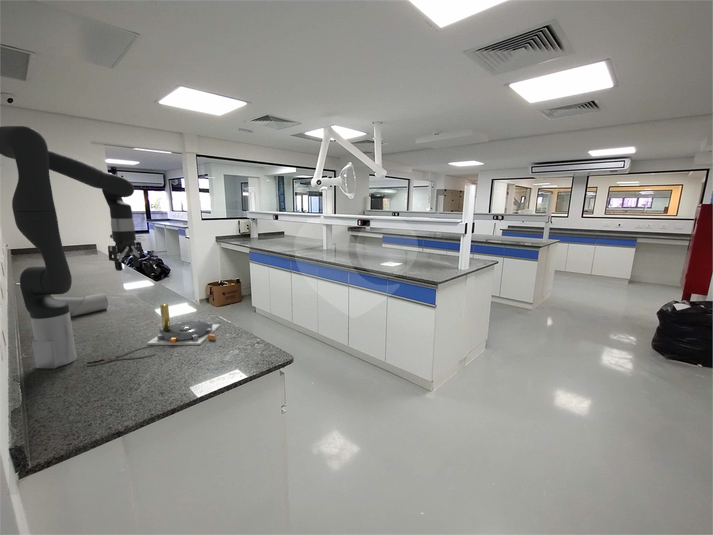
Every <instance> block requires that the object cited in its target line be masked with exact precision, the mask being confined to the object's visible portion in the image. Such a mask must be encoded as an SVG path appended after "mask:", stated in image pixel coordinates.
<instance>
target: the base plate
mask: <svg viewBox="0 0 713 535" xmlns="http://www.w3.org/2000/svg"><path fill="white" fill-rule="evenodd" d="M220 326H221V325H220V324H217V323H216V324H215V323H212V327H210V328H212V333H207V334H205V335H203V336H201V337H198V339H197V340H192V339H191V340H185V341H177V342H176V343H170V341H167V340H164V339H161V340H158V339H157V336H154V338H152V339H151V340H149V341H148V342H147V346H161V345H162V346H200V345H202V344H203V343H204V342H205V341H206V340H209V341H215V340H217V335H216V334H213V333H215V331H216V330H218V329H219V328H220Z"/></svg>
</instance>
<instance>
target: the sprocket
mask: <svg viewBox="0 0 713 535" xmlns="http://www.w3.org/2000/svg"><path fill="white" fill-rule="evenodd" d="M159 307H160V318H161V328H159V330H158V331H159V333H160V334H157V335H156V337H157V339H158V340H161V339H164V340H167V341H170V343H176V342H177V341H185V340H191V339H192V340H197V339H198V337H201V336H203V335H205V334H207V333H212V328H210V327H212V324H213V322H211V321H209V322H206V321H201V320H200V319H199V320H198V319H195V320H194V321H184V322H180V321H178V322H175V323H174V324H172V325H171V322H170V312H169V304H168V303H161V304H160V305H159ZM212 334H213V333H212Z"/></svg>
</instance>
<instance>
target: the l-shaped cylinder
mask: <svg viewBox="0 0 713 535" xmlns="http://www.w3.org/2000/svg"><path fill="white" fill-rule="evenodd" d="M53 298H55V299H57V300H59V301H62V302H65V303H67V304H68V306H69V311H70V318H72V317H77V316H82V315H85V314H91V313H94V312H99V311H103V310H104V311H105V310H107V309H108V308H109V299H108V297H107V296H106V294H105V293H104V292H103V293H101V292H100V293H96V294H90V295H86V296H85V297H55V296H54V297H53Z"/></svg>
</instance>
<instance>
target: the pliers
mask: <svg viewBox="0 0 713 535" xmlns="http://www.w3.org/2000/svg"><path fill="white" fill-rule="evenodd" d="M154 346H155V345H147V346H143V347H138V348H135V349H133V350H130V351H128V352H127V351H126V352H124V353H122V354H118V355H112V356H108V357H104V358H99V359H95V360H89V361H87V363H86V364H87V365H86V368H89V367H95V366H100V365H105V364H108V363H112V362H116V361H117V362H118V361H125V360H126V361H127V360H128V361H129V360H139V359H146V358H150V357H153V356H156V355H157V353H153V354H149V355H145V356H135V357H124V356H127V355H129V354H132V353H134V352H137V351H139V350H143V349H147V348H149V349H150V348H154Z"/></svg>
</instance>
